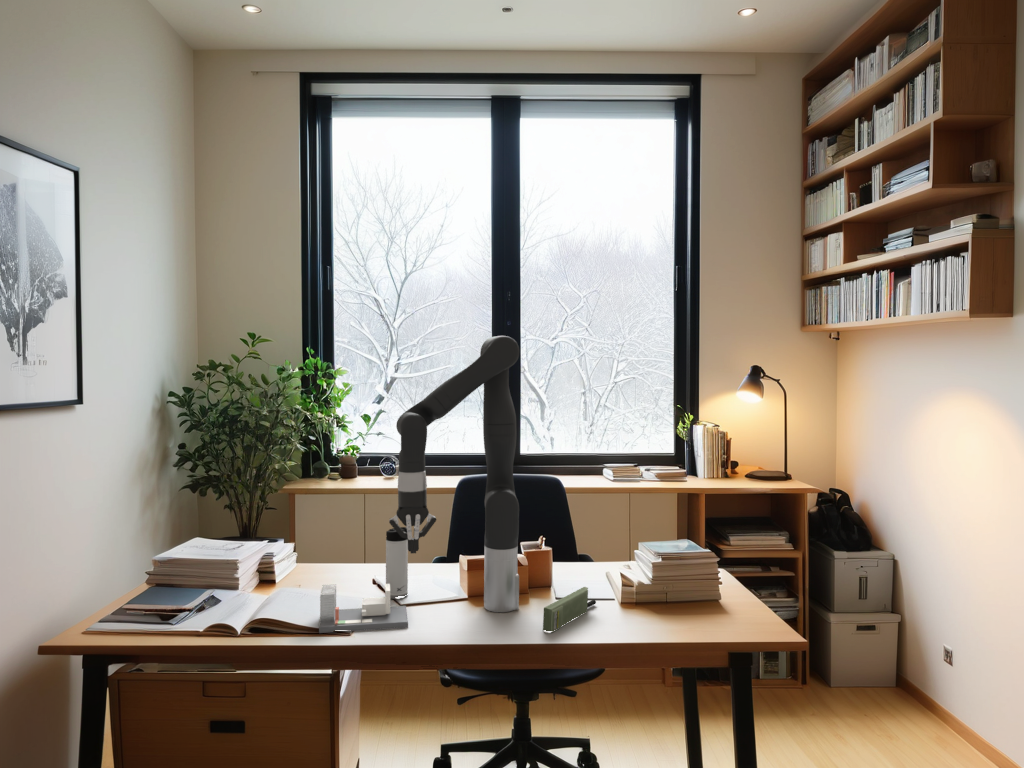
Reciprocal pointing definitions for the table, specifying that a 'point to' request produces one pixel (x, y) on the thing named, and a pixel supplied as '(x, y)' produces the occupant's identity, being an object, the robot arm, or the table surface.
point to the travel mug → (397, 563)
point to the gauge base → (366, 620)
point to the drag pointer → (336, 615)
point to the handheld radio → (566, 609)
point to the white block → (377, 604)
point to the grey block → (327, 603)
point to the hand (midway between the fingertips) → (413, 552)
